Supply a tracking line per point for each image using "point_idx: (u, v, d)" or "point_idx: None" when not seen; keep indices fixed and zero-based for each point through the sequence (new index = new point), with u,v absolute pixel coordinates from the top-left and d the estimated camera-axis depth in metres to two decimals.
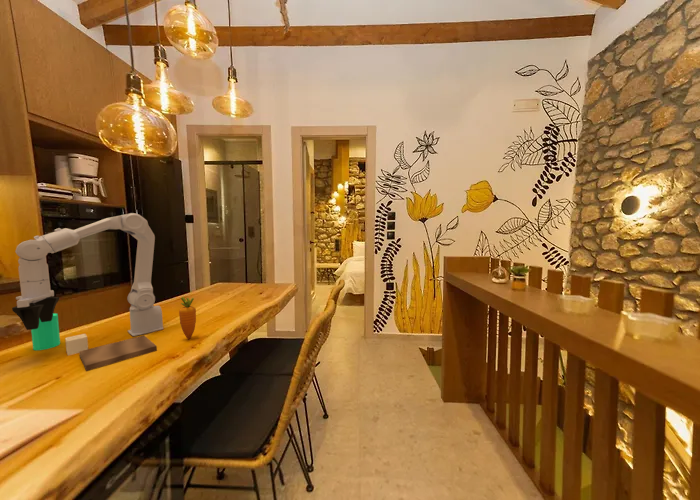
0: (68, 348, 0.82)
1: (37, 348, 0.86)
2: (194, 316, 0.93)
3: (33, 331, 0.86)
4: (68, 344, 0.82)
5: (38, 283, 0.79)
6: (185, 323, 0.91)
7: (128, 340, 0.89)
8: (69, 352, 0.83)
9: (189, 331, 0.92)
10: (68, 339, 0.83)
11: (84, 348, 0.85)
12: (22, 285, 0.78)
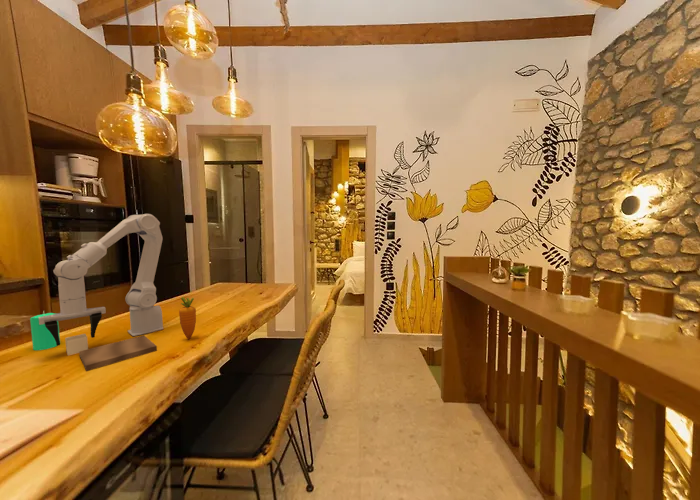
0: (68, 348, 0.82)
1: (37, 348, 0.86)
2: (194, 316, 0.93)
3: (33, 331, 0.86)
4: (68, 344, 0.82)
5: (62, 302, 0.82)
6: (185, 323, 0.91)
7: (128, 340, 0.89)
8: (69, 352, 0.83)
9: (189, 331, 0.92)
10: (68, 339, 0.83)
11: (84, 348, 0.85)
12: None
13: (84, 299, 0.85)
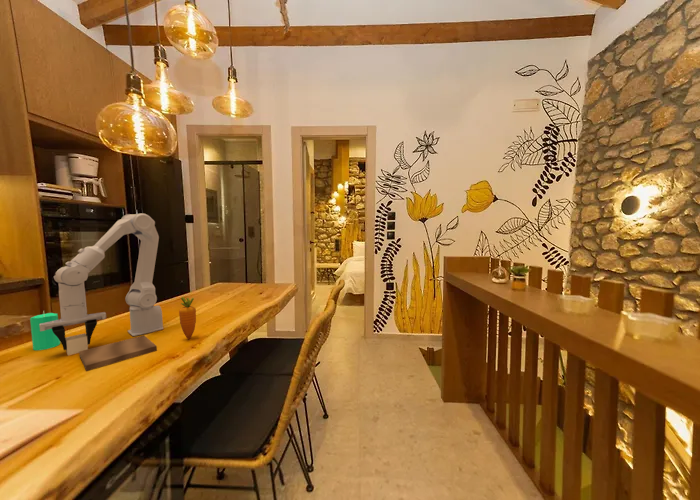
0: (68, 348, 0.82)
1: (37, 348, 0.86)
2: (194, 316, 0.93)
3: (33, 331, 0.86)
4: (68, 344, 0.82)
5: (63, 309, 0.82)
6: (185, 323, 0.91)
7: (128, 340, 0.89)
8: (69, 352, 0.83)
9: (189, 331, 0.92)
10: (68, 339, 0.83)
11: (84, 348, 0.85)
12: None
13: (85, 305, 0.85)
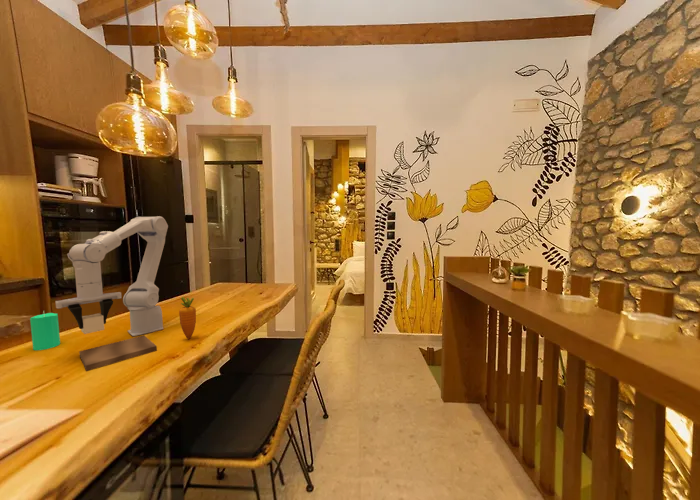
0: (85, 326, 0.81)
1: (37, 348, 0.86)
2: (194, 316, 0.93)
3: (33, 331, 0.86)
4: (85, 322, 0.81)
5: (79, 286, 0.80)
6: (185, 323, 0.91)
7: (128, 340, 0.89)
8: (86, 330, 0.81)
9: (189, 331, 0.92)
10: (84, 318, 0.82)
11: (100, 327, 0.84)
12: None
13: (101, 283, 0.84)
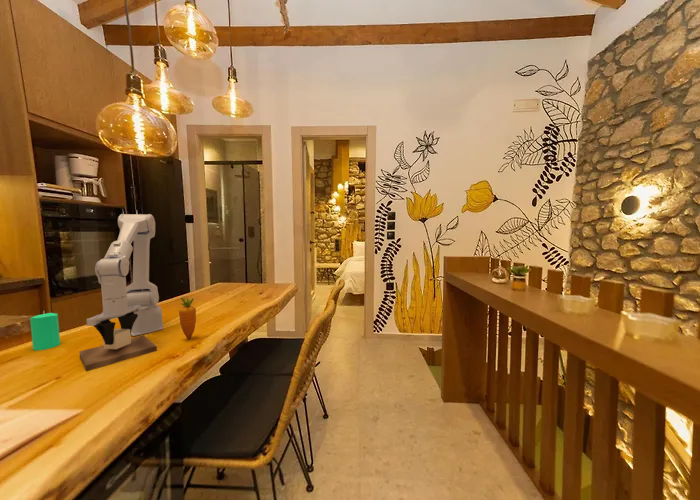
0: (116, 341, 0.81)
1: (37, 348, 0.86)
2: (194, 316, 0.93)
3: (33, 331, 0.86)
4: (116, 337, 0.81)
5: (111, 301, 0.80)
6: (185, 323, 0.91)
7: None
8: (117, 345, 0.81)
9: (189, 331, 0.92)
10: None
11: (128, 341, 0.84)
12: (102, 301, 0.80)
13: (126, 297, 0.84)
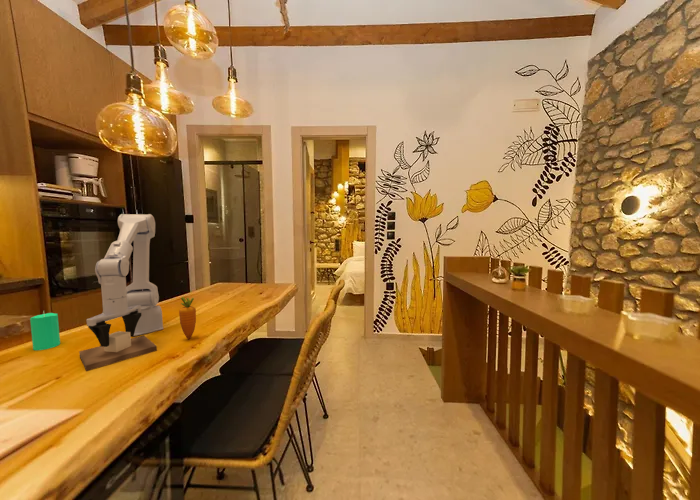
0: (116, 344, 0.81)
1: (37, 348, 0.86)
2: (194, 316, 0.93)
3: (33, 331, 0.86)
4: (116, 340, 0.81)
5: (111, 301, 0.80)
6: (185, 323, 0.91)
7: None
8: (117, 348, 0.81)
9: (189, 331, 0.92)
10: (112, 336, 0.81)
11: (128, 343, 0.84)
12: (102, 302, 0.80)
13: (126, 297, 0.84)
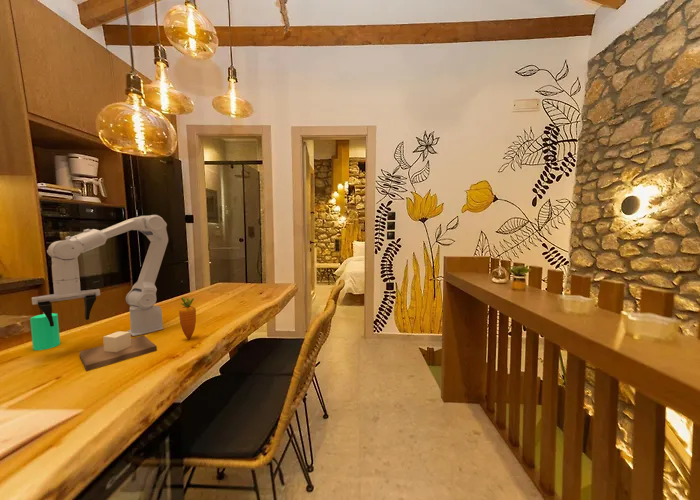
0: (116, 344, 0.81)
1: (37, 348, 0.86)
2: (194, 316, 0.93)
3: (33, 331, 0.86)
4: (116, 340, 0.81)
5: (56, 283, 0.81)
6: (185, 323, 0.91)
7: None
8: (117, 348, 0.81)
9: (189, 331, 0.92)
10: (112, 336, 0.81)
11: (128, 343, 0.84)
12: None
13: (78, 280, 0.84)
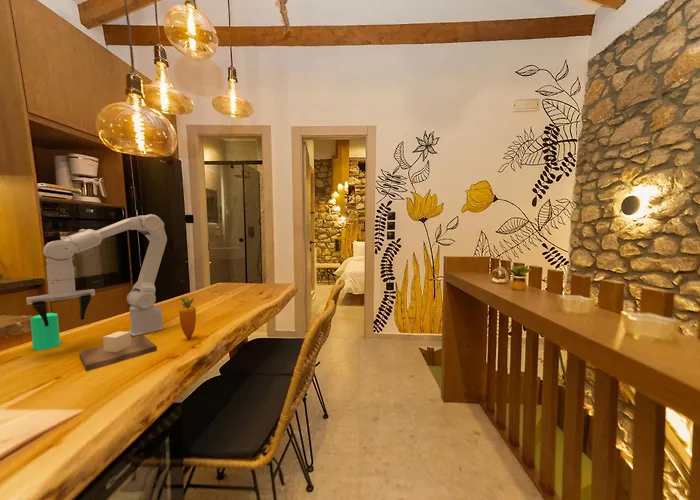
0: (116, 344, 0.81)
1: (37, 348, 0.86)
2: (194, 316, 0.93)
3: (33, 331, 0.86)
4: (116, 340, 0.81)
5: (50, 283, 0.81)
6: (185, 323, 0.91)
7: None
8: (117, 348, 0.81)
9: (189, 331, 0.92)
10: (112, 336, 0.81)
11: (128, 343, 0.84)
12: None
13: (73, 280, 0.85)
